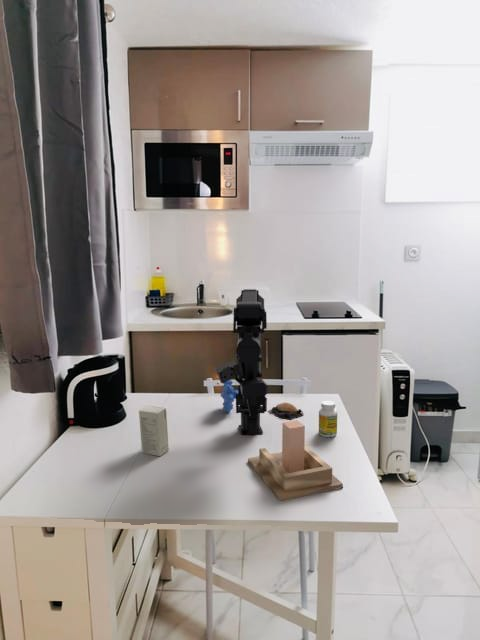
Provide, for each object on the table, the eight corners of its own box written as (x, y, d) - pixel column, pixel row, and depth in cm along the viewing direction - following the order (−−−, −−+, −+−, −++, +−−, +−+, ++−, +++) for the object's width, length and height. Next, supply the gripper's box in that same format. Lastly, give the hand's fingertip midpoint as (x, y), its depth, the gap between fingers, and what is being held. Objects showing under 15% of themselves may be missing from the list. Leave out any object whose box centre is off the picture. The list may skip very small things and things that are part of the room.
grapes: (242, 418, 158) (242, 382, 156) (221, 418, 158) (220, 382, 155) (239, 405, 170) (239, 371, 167) (219, 406, 169) (219, 372, 167)
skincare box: (169, 450, 136) (167, 408, 133) (160, 457, 132) (158, 413, 130) (149, 446, 138) (147, 404, 136) (140, 452, 134) (138, 409, 132)
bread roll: (265, 413, 164) (265, 403, 163) (283, 407, 169) (283, 397, 168) (288, 423, 156) (288, 411, 155) (307, 416, 161) (307, 405, 160)
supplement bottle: (328, 428, 149) (328, 398, 148) (340, 434, 145) (341, 403, 143) (314, 432, 147) (315, 401, 145) (327, 439, 142) (328, 407, 140)
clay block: (282, 468, 123) (282, 422, 121) (296, 465, 124) (297, 420, 122) (289, 475, 119) (289, 428, 117) (304, 472, 121) (304, 426, 119)
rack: (247, 461, 129) (247, 445, 128) (303, 451, 134) (303, 436, 133) (280, 500, 110) (280, 482, 109) (342, 487, 116) (343, 469, 115)
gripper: (214, 344, 134) (215, 399, 137) (221, 363, 116) (222, 426, 119) (254, 343, 136) (254, 397, 139) (268, 361, 118) (268, 423, 121)
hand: (249, 410), depth 129 cm, fingers open, 9 cm apart
